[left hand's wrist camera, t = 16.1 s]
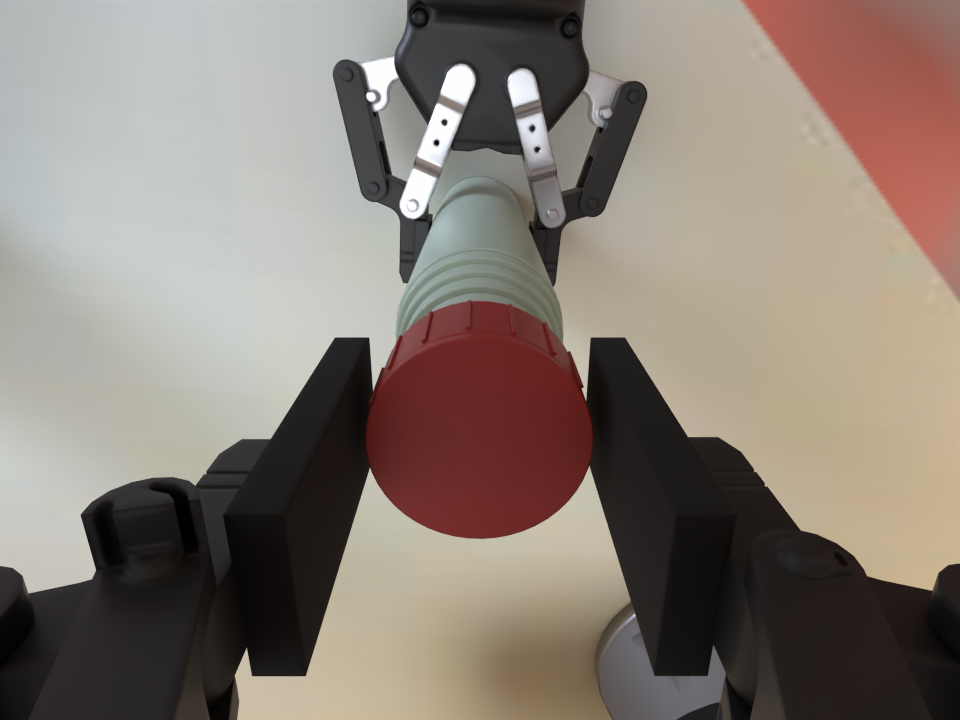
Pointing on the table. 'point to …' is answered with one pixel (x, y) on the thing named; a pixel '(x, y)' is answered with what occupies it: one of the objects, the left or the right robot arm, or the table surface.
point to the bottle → (479, 258)
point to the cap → (479, 422)
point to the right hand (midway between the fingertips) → (477, 294)
